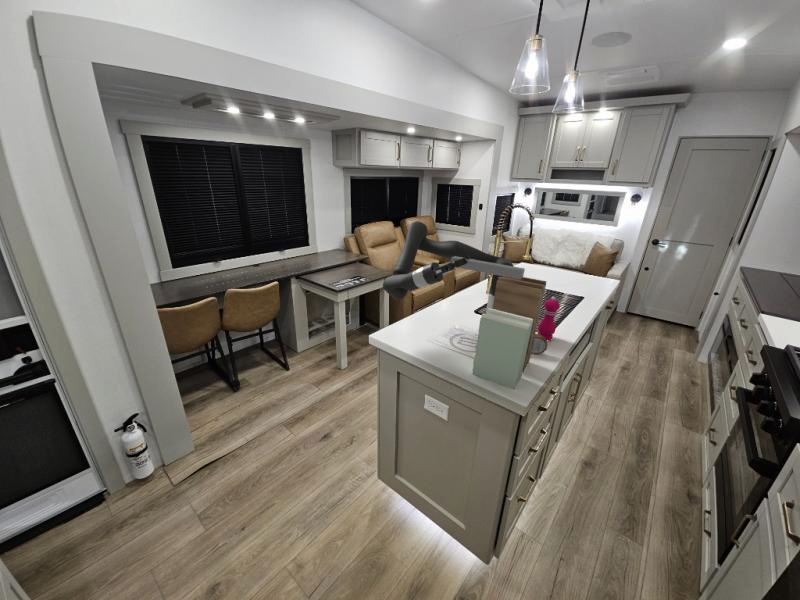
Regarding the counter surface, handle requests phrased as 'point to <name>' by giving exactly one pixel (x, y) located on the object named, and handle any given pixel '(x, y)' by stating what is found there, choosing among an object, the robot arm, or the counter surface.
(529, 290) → the walnut post
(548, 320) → the pepper mill
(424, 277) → the robot arm
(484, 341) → the sage green box
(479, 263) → the bar
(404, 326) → the counter surface
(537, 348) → the tin
